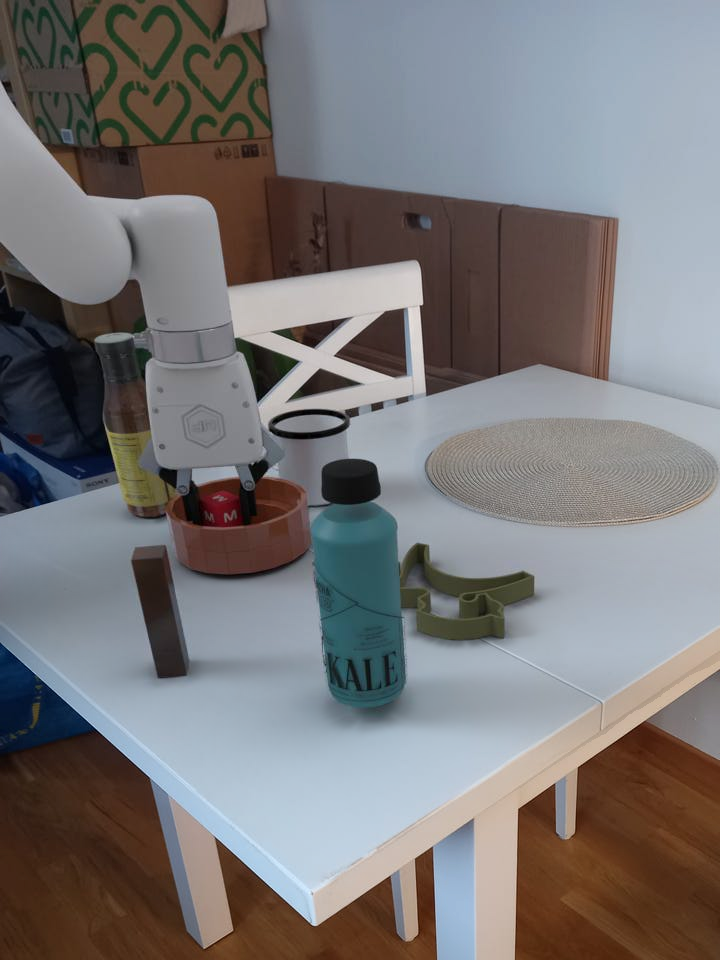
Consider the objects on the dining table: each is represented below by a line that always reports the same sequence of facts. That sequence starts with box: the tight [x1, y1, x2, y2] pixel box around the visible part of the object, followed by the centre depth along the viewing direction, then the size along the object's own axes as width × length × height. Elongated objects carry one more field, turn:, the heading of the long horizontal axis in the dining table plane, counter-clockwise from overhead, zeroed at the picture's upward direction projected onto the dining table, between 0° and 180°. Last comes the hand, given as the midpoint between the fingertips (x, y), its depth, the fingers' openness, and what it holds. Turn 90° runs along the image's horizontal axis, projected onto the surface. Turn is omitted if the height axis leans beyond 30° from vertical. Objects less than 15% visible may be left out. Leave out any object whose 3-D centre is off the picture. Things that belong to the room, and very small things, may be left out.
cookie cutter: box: [399, 542, 535, 641], centre depth 88 cm, size 18×12×2 cm, turn 56°
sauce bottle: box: [93, 332, 178, 518], centre depth 103 cm, size 6×6×20 cm
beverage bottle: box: [310, 458, 408, 708], centre depth 69 cm, size 6×7×20 cm
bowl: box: [165, 476, 313, 575], centre depth 97 cm, size 14×14×6 cm
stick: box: [130, 544, 190, 678], centre depth 76 cm, size 2×2×11 cm
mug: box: [264, 408, 351, 507], centre depth 110 cm, size 12×10×9 cm
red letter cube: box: [199, 491, 243, 528], centre depth 94 cm, size 3×3×3 cm
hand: (223, 522), depth 95 cm, fingers closed on red letter cube, 4 cm apart
